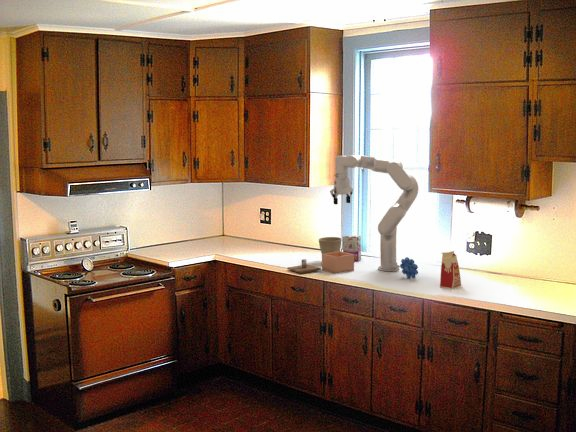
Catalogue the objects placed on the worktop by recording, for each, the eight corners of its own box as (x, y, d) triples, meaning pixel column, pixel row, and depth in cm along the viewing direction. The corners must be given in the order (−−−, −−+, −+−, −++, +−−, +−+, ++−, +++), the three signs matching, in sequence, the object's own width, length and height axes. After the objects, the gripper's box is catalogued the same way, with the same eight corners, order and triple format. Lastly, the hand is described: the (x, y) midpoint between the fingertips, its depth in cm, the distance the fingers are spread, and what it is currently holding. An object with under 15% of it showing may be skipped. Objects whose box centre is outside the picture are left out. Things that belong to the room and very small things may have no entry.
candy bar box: (361, 260, 428) (361, 235, 426) (358, 261, 424) (358, 236, 422) (345, 259, 434) (345, 234, 431) (342, 260, 429) (342, 236, 427)
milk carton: (461, 286, 352) (461, 249, 349) (453, 289, 345) (453, 252, 342) (446, 284, 358) (446, 248, 355) (437, 287, 351) (437, 250, 348)
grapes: (396, 278, 375) (396, 257, 374) (402, 275, 380) (402, 255, 379) (414, 280, 368) (414, 259, 366) (420, 278, 373) (420, 257, 371)
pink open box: (354, 270, 398) (353, 254, 397) (335, 273, 391) (335, 257, 390) (340, 266, 410) (339, 251, 409) (322, 269, 403) (321, 253, 401)
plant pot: (320, 260, 431) (320, 236, 429) (343, 260, 428) (342, 236, 426) (317, 265, 416) (317, 240, 414) (340, 265, 413) (340, 240, 411)
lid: (321, 271, 399) (321, 260, 398) (300, 275, 391) (300, 263, 390) (307, 267, 412) (307, 256, 411) (287, 270, 404) (287, 259, 403)
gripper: (333, 177, 392) (334, 205, 395) (356, 175, 401) (356, 202, 404) (326, 176, 399) (327, 204, 401) (348, 174, 408) (349, 201, 410)
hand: (342, 203), depth 402 cm, fingers open, 9 cm apart
